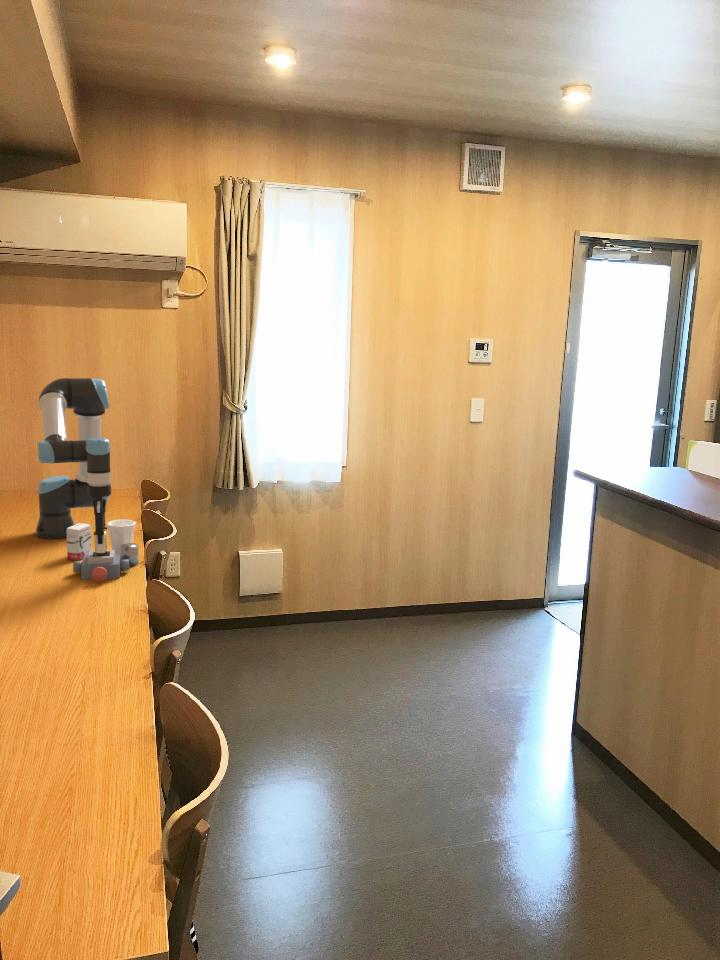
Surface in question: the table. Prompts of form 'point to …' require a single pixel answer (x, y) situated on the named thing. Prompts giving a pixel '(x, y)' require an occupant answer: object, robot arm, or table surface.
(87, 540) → the ink box
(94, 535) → the brass cylinder
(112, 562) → the valve body
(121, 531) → the cup
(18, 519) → the table surface
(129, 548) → the steel nipple large
